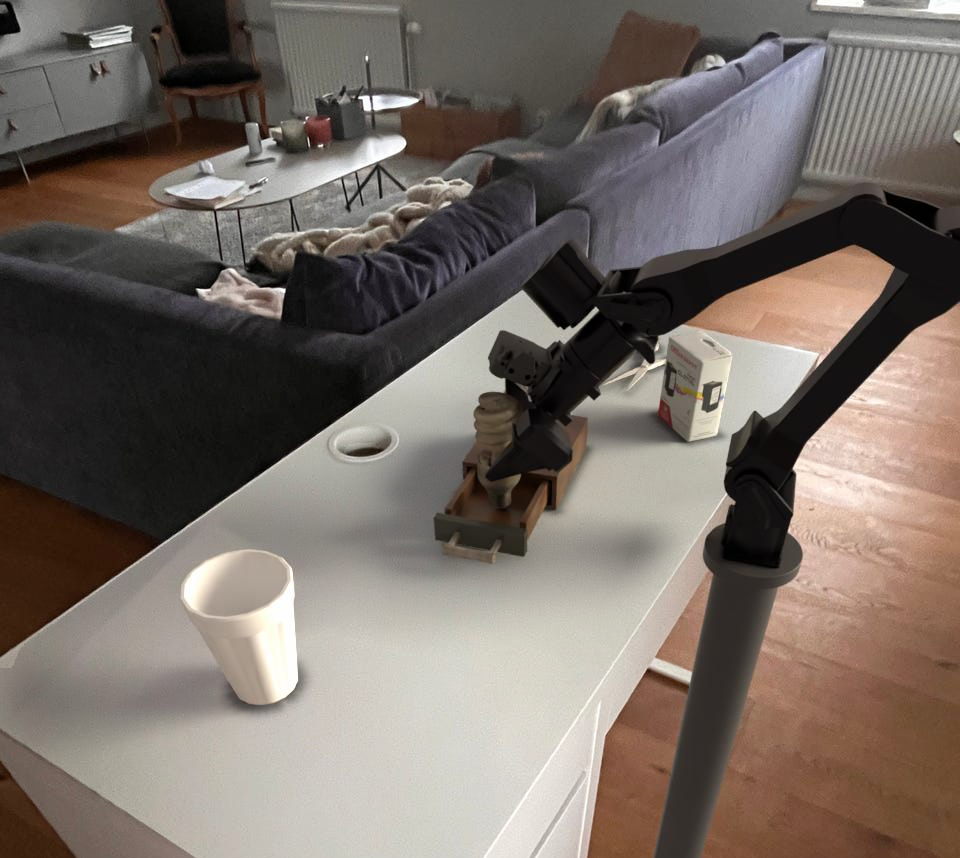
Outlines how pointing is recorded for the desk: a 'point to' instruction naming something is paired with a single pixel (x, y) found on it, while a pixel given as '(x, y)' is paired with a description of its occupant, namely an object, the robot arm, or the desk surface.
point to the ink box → (694, 385)
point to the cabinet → (560, 479)
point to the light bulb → (495, 441)
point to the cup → (246, 621)
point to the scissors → (640, 370)
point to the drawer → (490, 519)
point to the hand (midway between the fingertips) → (485, 457)
